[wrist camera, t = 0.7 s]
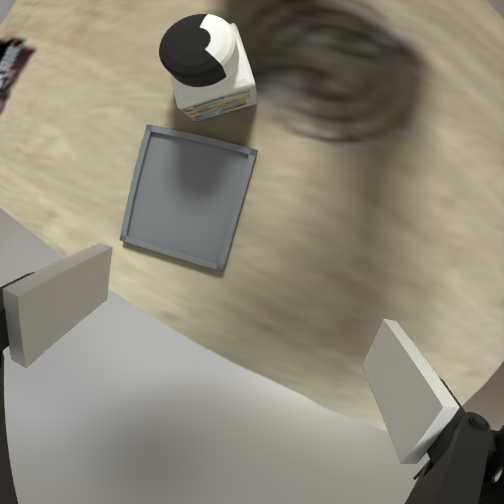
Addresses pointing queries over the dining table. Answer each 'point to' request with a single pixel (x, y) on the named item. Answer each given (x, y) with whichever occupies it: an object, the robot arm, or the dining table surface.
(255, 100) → the container
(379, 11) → the dining table surface
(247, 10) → the dining table surface
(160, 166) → the tray
